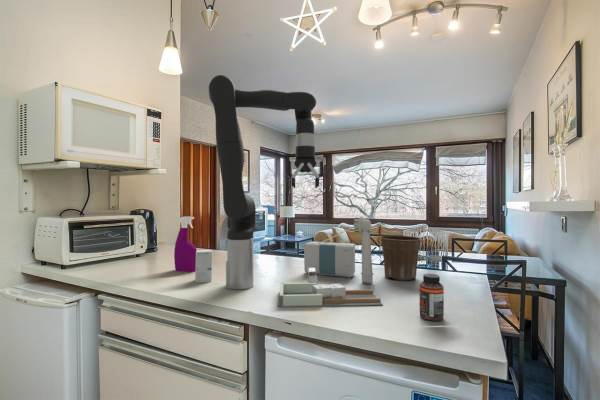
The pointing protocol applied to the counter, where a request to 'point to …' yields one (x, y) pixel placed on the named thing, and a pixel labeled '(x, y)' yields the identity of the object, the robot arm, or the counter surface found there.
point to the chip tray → (299, 299)
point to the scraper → (312, 275)
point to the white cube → (322, 290)
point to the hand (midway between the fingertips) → (305, 188)
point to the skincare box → (203, 266)
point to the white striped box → (330, 258)
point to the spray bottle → (184, 248)
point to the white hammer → (365, 248)
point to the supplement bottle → (431, 298)
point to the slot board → (345, 299)
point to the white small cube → (337, 290)
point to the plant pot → (400, 256)
